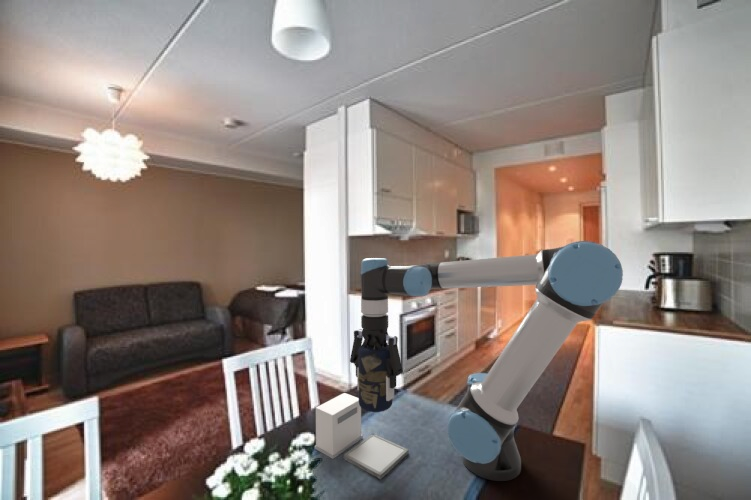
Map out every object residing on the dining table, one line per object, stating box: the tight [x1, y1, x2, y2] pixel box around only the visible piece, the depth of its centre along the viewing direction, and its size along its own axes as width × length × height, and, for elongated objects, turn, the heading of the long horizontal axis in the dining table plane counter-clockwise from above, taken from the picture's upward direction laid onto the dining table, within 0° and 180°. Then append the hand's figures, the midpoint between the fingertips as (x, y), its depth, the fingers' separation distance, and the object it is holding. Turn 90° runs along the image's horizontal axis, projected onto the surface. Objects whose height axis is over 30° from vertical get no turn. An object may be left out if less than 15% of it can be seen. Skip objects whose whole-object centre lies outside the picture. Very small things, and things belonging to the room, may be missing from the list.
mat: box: [342, 433, 410, 480], centre depth 91 cm, size 13×13×1 cm
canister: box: [358, 344, 394, 413], centre depth 91 cm, size 10×10×18 cm
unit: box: [314, 392, 364, 460], centre depth 97 cm, size 8×13×12 cm, turn 142°
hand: (375, 393), depth 91 cm, fingers closed on canister, 9 cm apart
